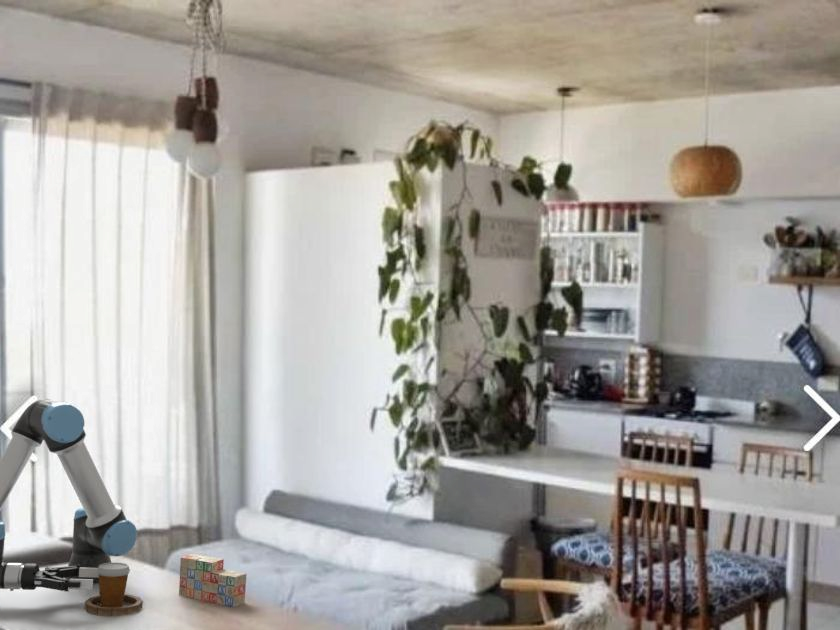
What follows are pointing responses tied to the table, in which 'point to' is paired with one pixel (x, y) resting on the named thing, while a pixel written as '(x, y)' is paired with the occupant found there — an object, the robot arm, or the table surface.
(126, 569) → the disposable coffee cup
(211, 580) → the stack of blocks
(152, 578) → the table surface
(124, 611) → the walnut bead ring
